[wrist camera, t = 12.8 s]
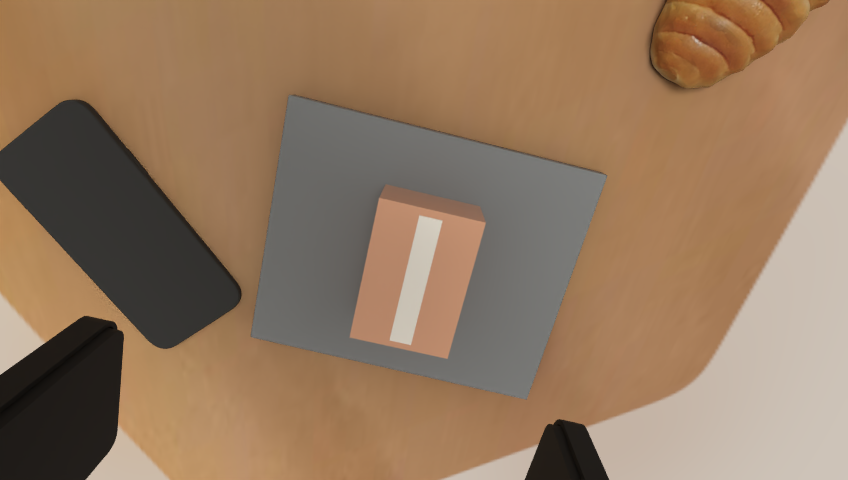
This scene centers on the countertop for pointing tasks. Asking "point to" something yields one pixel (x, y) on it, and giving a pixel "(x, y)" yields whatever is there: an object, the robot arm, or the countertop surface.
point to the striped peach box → (417, 271)
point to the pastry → (721, 36)
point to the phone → (117, 224)
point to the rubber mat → (352, 227)
